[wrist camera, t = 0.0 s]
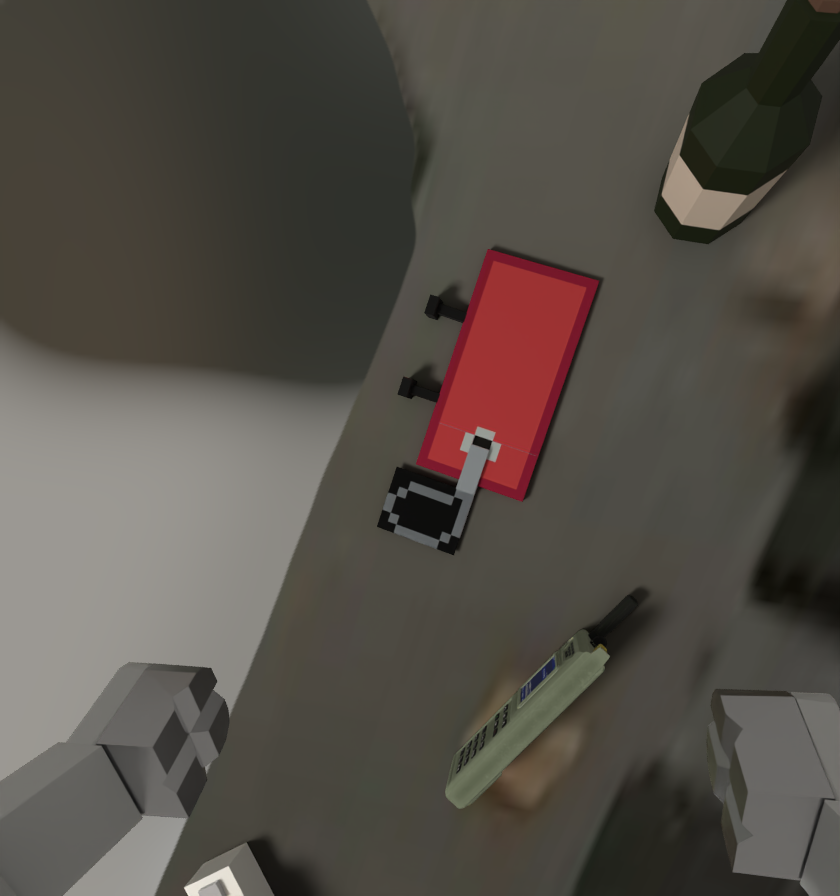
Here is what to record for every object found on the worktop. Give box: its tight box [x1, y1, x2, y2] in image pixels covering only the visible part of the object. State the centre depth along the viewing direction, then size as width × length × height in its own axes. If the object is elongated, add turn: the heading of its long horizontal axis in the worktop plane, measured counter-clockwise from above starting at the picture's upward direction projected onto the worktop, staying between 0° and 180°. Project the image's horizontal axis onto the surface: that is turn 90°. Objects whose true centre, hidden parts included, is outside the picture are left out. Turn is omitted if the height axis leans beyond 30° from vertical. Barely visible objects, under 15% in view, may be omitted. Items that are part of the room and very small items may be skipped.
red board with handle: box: [377, 249, 599, 555], centre depth 64 cm, size 30×3×15 cm
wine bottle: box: [654, 0, 840, 244], centre depth 45 cm, size 8×8×30 cm
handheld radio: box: [445, 595, 638, 809], centre depth 61 cm, size 7×3×25 cm
